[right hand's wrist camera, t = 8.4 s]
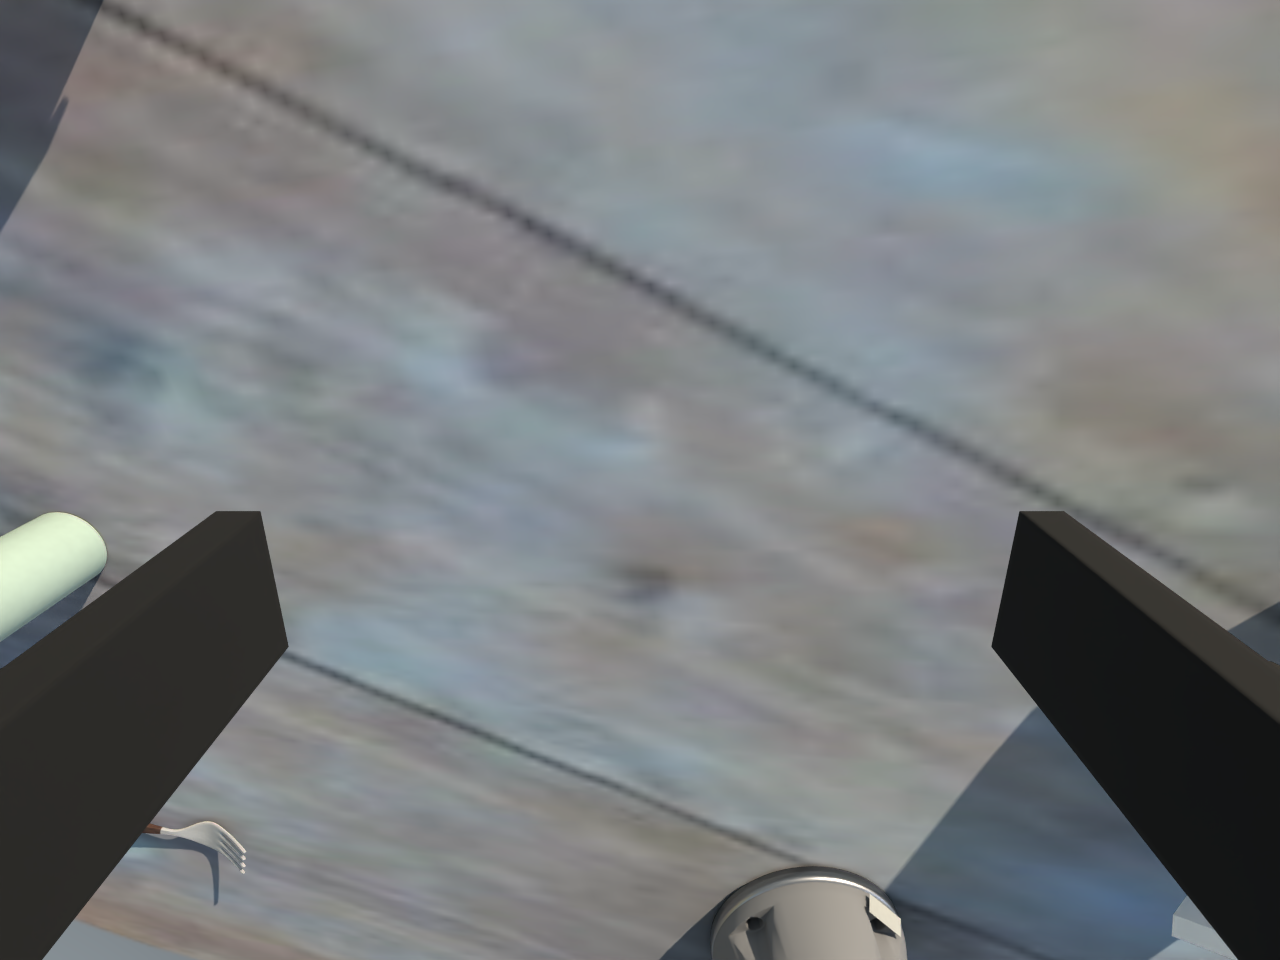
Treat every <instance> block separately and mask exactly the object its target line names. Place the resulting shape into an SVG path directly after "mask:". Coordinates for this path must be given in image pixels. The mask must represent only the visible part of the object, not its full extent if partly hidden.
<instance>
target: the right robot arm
mask: <svg viewBox="0 0 1280 960" xmlns="http://www.w3.org/2000/svg"><path fill="white" fill-rule="evenodd" d="M288 647H289V646H288V642H287V637H286V632H285V627H284V622H283V618H282V613H281V608H280V603H279V598H278V593H277V589H276V584H275V579H274V574H273V569H272V565H271V560H270V555H269V550H268V545H267V541H266V536H265V531H264V526H263V521H262V516H261V512H260V511H216V512H215V513H213V514H212V515H210V516H209V517H208V518H206V519H205V520H204V521H202V522H201V523H200V524H198V525H197V526H195V527H194V528H193V529H191V530H190V531H189V532H187V533H186V534H185V535H183V536H182V537H180V538H179V539H178V540H176V541H175V542H174V543H172V544H171V545H170V546H168V547H167V548H165V549H164V550H163V551H161V552H160V553H159V554H157V555H156V556H155V557H153V558H152V559H150V560H149V561H148V562H146V563H145V564H144V565H142V566H141V567H140V568H138V569H137V570H135V571H134V572H133V573H131V574H130V575H129V576H127V577H126V578H125V579H123V580H122V581H120V582H119V583H118V584H116V585H115V586H114V587H112V588H111V589H110V590H108V591H107V592H105V593H104V594H103V595H101V596H100V597H99V598H97V599H96V600H95V601H93V602H92V603H91V604H89V605H88V606H86V607H85V608H84V609H82V610H81V611H80V612H78V613H77V614H76V615H74V616H73V617H71V618H70V619H69V620H67V621H66V622H65V623H63V624H62V625H61V626H59V627H58V628H56V629H55V630H54V631H52V632H51V633H50V634H48V635H47V636H46V637H44V638H43V639H41V640H40V641H39V642H37V643H36V644H35V645H33V646H32V647H31V648H29V649H28V650H26V651H25V652H24V653H22V654H21V655H20V656H18V657H17V658H16V659H14V660H13V661H11V662H10V663H9V664H7V665H6V666H5V667H3V668H1V669H0V960H42V959H43V958H44V957H45V955H46V954H47V953H48V952H49V950H50V949H51V948H52V946H53V945H54V944H55V943H56V941H57V940H58V939H59V938H60V936H61V935H62V934H63V932H64V931H65V930H66V929H67V927H68V926H69V925H70V924H71V922H72V921H73V920H74V919H75V917H76V916H77V915H78V913H79V912H80V911H81V910H82V908H83V907H84V906H85V905H86V903H87V902H88V901H89V899H90V898H91V897H92V896H93V894H94V893H95V892H96V891H97V889H98V888H99V887H100V885H101V884H102V883H103V882H104V880H105V879H106V878H107V877H108V875H109V874H110V873H111V872H112V870H113V869H114V868H115V866H116V865H117V864H118V863H119V861H120V860H121V859H122V858H123V856H124V855H125V854H126V852H127V851H128V850H129V849H130V847H131V846H132V845H133V844H134V842H135V841H136V840H137V838H138V837H139V836H140V835H141V833H142V832H143V831H144V830H145V828H146V827H147V826H148V825H149V823H150V822H151V821H152V819H153V818H154V817H155V816H156V814H157V813H158V812H159V811H160V809H161V808H162V807H163V805H164V804H165V803H166V802H167V800H168V799H169V798H170V797H171V795H172V794H173V793H174V792H175V790H176V789H177V788H178V786H179V785H180V784H181V783H182V781H183V780H184V779H185V778H186V776H187V775H188V774H189V772H190V771H191V770H192V769H193V767H194V766H195V765H196V764H197V762H198V761H199V760H200V758H201V757H202V756H203V755H204V753H205V752H206V751H207V750H208V748H209V747H210V746H211V745H212V743H213V742H214V741H215V739H216V738H217V737H218V736H219V734H220V733H221V732H222V731H223V729H224V728H225V727H226V725H227V724H228V723H229V722H230V720H231V719H232V718H233V717H234V715H235V714H236V713H237V711H238V710H239V709H240V708H241V706H242V705H243V704H244V703H245V701H246V700H247V699H248V698H249V696H250V695H251V694H252V692H253V691H254V690H255V689H256V687H257V686H258V685H259V684H260V682H261V681H262V680H263V678H264V677H265V676H266V675H267V673H268V672H269V671H270V670H271V668H272V667H273V666H274V664H275V663H276V662H277V661H278V659H279V658H280V657H281V656H282V654H283V653H284V652H285V651H286V649H287V648H288ZM991 647H992V648H993V649H994V651H995V652H996V653H997V654H998V656H999V657H1000V658H1001V659H1002V661H1003V662H1004V663H1005V664H1006V666H1007V667H1008V668H1009V670H1010V671H1011V672H1012V673H1013V675H1014V676H1015V677H1016V678H1017V680H1018V681H1019V682H1020V684H1021V685H1022V686H1023V687H1024V689H1025V690H1026V691H1027V692H1028V694H1029V695H1030V696H1031V698H1032V699H1033V700H1034V701H1035V703H1036V704H1037V705H1038V706H1039V708H1040V709H1041V710H1042V711H1043V713H1044V714H1045V715H1046V717H1047V718H1048V719H1049V720H1050V722H1051V723H1052V724H1053V725H1054V727H1055V728H1056V729H1057V731H1058V732H1059V733H1060V734H1061V736H1062V737H1063V738H1064V739H1065V741H1066V742H1067V743H1068V745H1069V746H1070V747H1071V748H1072V750H1073V751H1074V752H1075V753H1076V755H1077V756H1078V757H1079V758H1080V760H1081V761H1082V762H1083V764H1084V765H1085V766H1086V767H1087V769H1088V770H1089V771H1090V772H1091V774H1092V775H1093V776H1094V778H1095V779H1096V780H1097V781H1098V783H1099V784H1100V785H1101V786H1102V788H1103V789H1104V790H1105V792H1106V793H1107V794H1108V795H1109V797H1110V798H1111V799H1112V800H1113V802H1114V803H1115V804H1116V805H1117V807H1118V808H1119V809H1120V811H1121V812H1122V813H1123V814H1124V816H1125V817H1126V818H1127V819H1128V821H1129V822H1130V823H1131V825H1132V826H1133V827H1134V828H1135V830H1136V831H1137V832H1138V833H1139V835H1140V836H1141V837H1142V839H1143V840H1144V841H1145V842H1146V844H1147V845H1148V846H1149V847H1150V849H1151V850H1152V851H1153V852H1154V854H1155V855H1156V856H1157V858H1158V859H1159V860H1160V861H1161V863H1162V864H1163V865H1164V866H1165V868H1166V869H1167V870H1168V872H1169V873H1170V874H1171V875H1172V877H1173V878H1174V879H1175V880H1176V882H1177V883H1178V884H1179V885H1180V887H1181V888H1182V889H1183V891H1184V892H1185V893H1186V894H1187V896H1188V897H1189V898H1190V899H1191V901H1192V902H1193V903H1194V905H1195V906H1196V907H1197V908H1198V910H1199V911H1200V912H1201V913H1202V915H1203V916H1204V917H1205V919H1206V920H1207V921H1208V922H1209V924H1210V925H1211V926H1212V927H1213V929H1214V930H1215V931H1216V932H1217V934H1218V935H1219V936H1220V938H1221V939H1222V940H1223V941H1224V943H1225V944H1226V945H1227V946H1228V948H1229V949H1230V950H1231V952H1232V953H1233V954H1234V955H1235V957H1236V958H1237V959H1238V960H1280V666H1279V665H1277V664H1275V663H1273V662H1271V661H1267V660H1266V659H1264V658H1263V657H1262V656H1260V655H1259V654H1258V653H1256V652H1255V651H1254V650H1252V649H1251V648H1249V647H1248V646H1247V645H1245V644H1244V643H1243V642H1241V641H1240V640H1239V639H1237V638H1236V637H1234V636H1233V635H1232V634H1230V633H1229V632H1228V631H1226V630H1225V629H1224V628H1222V627H1221V626H1219V625H1218V624H1217V623H1215V622H1214V621H1213V620H1211V619H1210V618H1209V617H1207V616H1206V615H1204V614H1203V613H1202V612H1200V611H1199V610H1198V609H1196V608H1195V607H1194V606H1192V605H1191V604H1189V603H1188V602H1187V601H1185V600H1184V599H1183V598H1181V597H1180V596H1179V595H1177V594H1176V593H1175V592H1173V591H1172V590H1170V589H1169V588H1168V587H1166V586H1165V585H1164V584H1162V583H1161V582H1160V581H1158V580H1157V579H1155V578H1154V577H1153V576H1151V575H1150V574H1149V573H1147V572H1146V571H1145V570H1143V569H1142V568H1140V567H1139V566H1138V565H1136V564H1135V563H1134V562H1132V561H1131V560H1130V559H1128V558H1127V557H1125V556H1124V555H1123V554H1121V553H1120V552H1119V551H1117V550H1116V549H1115V548H1113V547H1112V546H1110V545H1109V544H1108V543H1106V542H1105V541H1104V540H1102V539H1101V538H1100V537H1098V536H1097V535H1095V534H1094V533H1093V532H1091V531H1090V530H1089V529H1087V528H1086V527H1085V526H1083V525H1082V524H1080V523H1079V522H1078V521H1076V520H1075V519H1074V518H1072V517H1071V516H1070V515H1068V514H1067V513H1065V512H1064V511H1020V512H1019V516H1018V521H1017V526H1016V531H1015V536H1014V541H1013V545H1012V550H1011V555H1010V560H1009V565H1008V569H1007V574H1006V579H1005V584H1004V589H1003V593H1002V598H1001V603H1000V608H999V613H998V618H997V622H996V627H995V632H994V637H993V642H992V646H991ZM710 944H711V954H712V960H907V947H906V941H905V936H904V931H903V928H902V925H901V919H900V918H899V917H898V914H897V911H896V909H895V907H894V905H893V903H892V901H891V900H890V898H889V897H888V896H887V895H886V894H885V893H884V892H883V891H882V890H881V889H880V888H879V887H878V886H876V885H875V884H874V883H872V882H870V881H869V880H867V879H865V878H863V877H861V876H859V875H857V874H854V873H851V872H848V871H844V870H840V869H835V868H828V867H813V866H812V867H797V868H790V869H784V870H780V871H776V872H773V873H770V874H767V875H764V876H762V877H760V878H757V879H755V880H753V881H751V882H749V883H748V884H746V885H745V886H743V887H741V888H740V889H739V890H737V891H736V892H735V893H734V894H733V895H731V896H730V897H729V898H728V899H727V900H726V902H725V903H724V904H723V905H722V907H721V908H720V909H719V911H718V913H717V914H716V916H715V919H714V921H713V924H712V928H711V934H710Z"/></svg>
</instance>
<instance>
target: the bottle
mask: <svg viewBox="0 0 1280 960" xmlns="http://www.w3.org/2000/svg"><path fill="white" fill-rule="evenodd" d="M106 560H107V551H106V547H105V544H104V542H103V540H102V538H101V536H100V535H99V533H98V532H97V531H96V530H95V529H94V528H93V527H92V526H91V525H90V524H88V523H87V522H85V521H84V520H82V519H80V518H78V517H76V516H74V515H71V514H67V513H60V512H54V513H47V514H44V515H41V516H39V517H37V518H36V519H34V520H32V521H30V522H28V523H26V524H24V525H22V526H20V527H18V528H17V529H15V530H13V531H11V532H9V533H7V534H5V535H3V536H1V537H0V642H1V641H2V640H4V639H5V638H7V637H8V636H10V635H11V634H13V633H14V632H15V631H17V630H18V629H20V628H21V627H23V626H24V625H26V624H27V623H28V622H30V621H31V620H33V619H34V618H36V617H37V616H39V615H40V614H42V613H43V612H44V611H46V610H47V609H49V608H50V607H52V606H53V605H55V604H56V603H57V602H59V601H60V600H62V599H63V598H65V597H66V596H68V595H69V594H70V593H72V592H73V591H75V590H76V589H78V588H79V587H81V586H82V585H84V584H85V583H86V582H88V581H89V580H91V579H92V578H94V577H95V576H97V575H98V574H99V573H100V572H101V571H102V570H103V568H104V566H105V564H106Z"/></svg>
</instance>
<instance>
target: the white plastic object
mask: <svg viewBox="0 0 1280 960" xmlns="http://www.w3.org/2000/svg"><path fill="white" fill-rule="evenodd" d="M1172 936H1173V937H1176V938H1178V939H1181V940H1183V941H1186V942H1189V943H1191V944H1194V945H1196V946H1199V947H1202V948H1204V949H1207V950H1209V951H1212V952H1215V953H1217V954H1220V955H1222V956H1225V957H1228V958H1230V959H1233V960H1238V959H1237V958H1236V957H1235V955H1234V954H1233V953H1232V952H1231V950H1230V949H1229V948H1228V946H1227V945H1226V944H1225V943H1224V941H1223V940H1222V939H1221V938H1220V936H1219V935H1218V934H1217V932H1216V931H1215V930H1214V929H1213V927H1212V926H1211V925H1210V924H1209V922H1208V921H1207V920H1206V919H1205V917H1204V916H1203V915H1202V913H1201V912H1200V911H1199V910H1198V908H1197V907H1196V906H1195V905H1194V903H1193V902H1192V901H1191V899H1190V898H1189V897H1188V896H1186V897H1185V899H1184V900H1183V902H1182V903H1181V904H1180V906H1179V907H1178V909H1177V910H1176V911H1175V913H1174V914H1173V924H1172Z"/></svg>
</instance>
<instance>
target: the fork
mask: <svg viewBox="0 0 1280 960" xmlns="http://www.w3.org/2000/svg"><path fill="white" fill-rule="evenodd" d="M142 833H153V834H166V835H174V836H179V837H182V838H186V839H189V840H192V841H195V842H197V843H200V844H203V845H205V846H208V847H210V848H212V849H214V850H216V851H218V852H220V853H221V854H223V855H224V856H225V857H226V858H228V859H229V860H230V861H231V862H232V863H233V864H234V865H235V866H236V867H237V868H238V869H239V870H240V871H241V873H242V874H244V873H245V871H244V870H243V869H242V868H241V867H240V865H239V864H238V863H237V862H236V861H235V860H234V859H233V858H232V857H231V856H230V855H229V854H228V853H227V852H226V851H225V850H227V851H228V852H229V853H230V854H231V855H232V856H233V857H234V858H235V859H236V860H237V861H238V862H239V863H240V864H241V865H242V867H245V864H244V863H243V862H242V860H241V859H240V858H239V857H238V856H237V855H236V854H235V853H234V852H233V851H232V850H231V849H230V848H229V847H228V846H227V845H226V844H225V843H227V844H228V845H229V846H230V847H231V848H232V849H233V850H234V851H235V852H236V853H237V854H238V855H239V856H240V857H241V858H242V859H243V860H245V859H246V858H245V857H244V855H243V854H242V853H241V852H240V851H239V850H238V849H237V848H236V847H235V846H234V845H233V844H232V843H231V842H230V841H229V840H228V839H227V838H226V837H225V836H224V835H226V836H227V837H228V838H229V839H230V840H231V841H232V842H234V843H235V844H236V845H237V846H238V847H239V848H240V849H241V851H242V852H243V853H246V850H245V849H244V848H243V847H242V846H241V845H240V844H239V843H238V841H237V840H236V839H235V838H234V837H233V836H232V835H231V834H229V833H228V832H227V831H226V830H225V829H223V828H222V827H221V826H220V825H218V824H216V823H214V822H210V821H205V822H200V823H197V824H194V825H191V826H189V827H186V828H183V829H178V830H174V829H168V828H164V827H160V826H157V825H153V824H149V825H148V826H147V827H146V828H145V830H144V831H143V832H142ZM223 834H224V835H223ZM223 841H224V842H225V843H224V842H223ZM223 848H224V849H225V850H224V849H223Z"/></svg>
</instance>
